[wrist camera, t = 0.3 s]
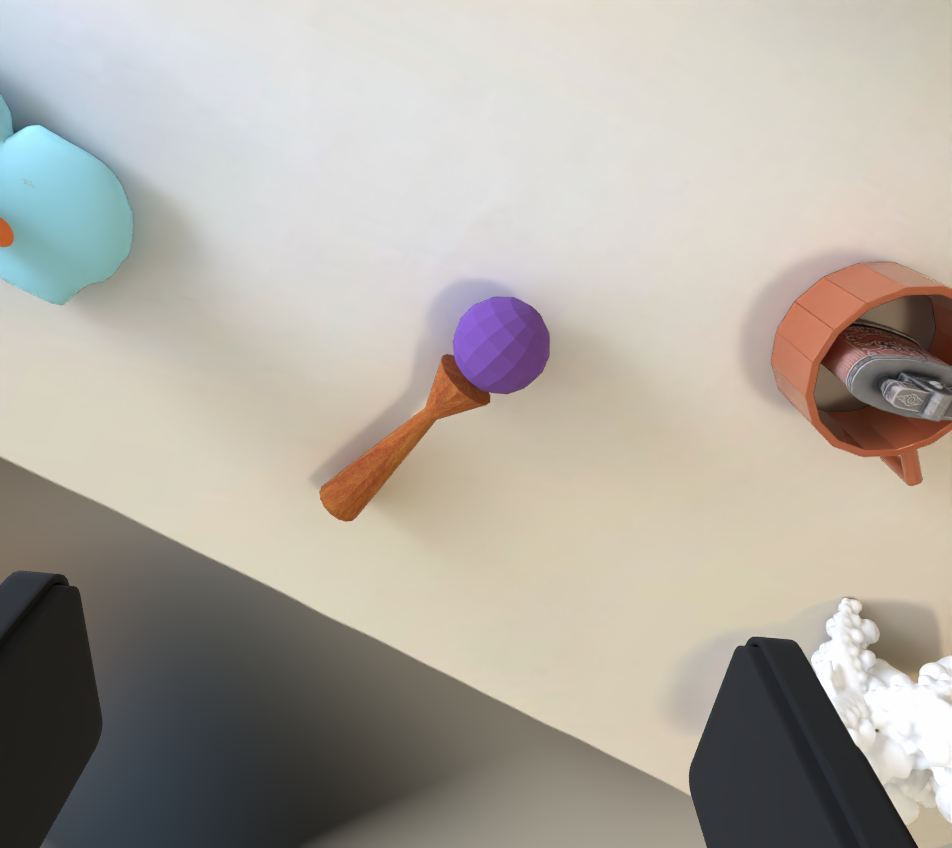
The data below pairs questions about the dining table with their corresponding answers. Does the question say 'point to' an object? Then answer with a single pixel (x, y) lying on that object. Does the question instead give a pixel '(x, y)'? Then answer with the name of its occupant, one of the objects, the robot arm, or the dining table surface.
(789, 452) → the dining table surface
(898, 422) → the mug
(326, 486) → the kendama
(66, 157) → the penguin figurine
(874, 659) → the cauliflower
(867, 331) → the lighter
